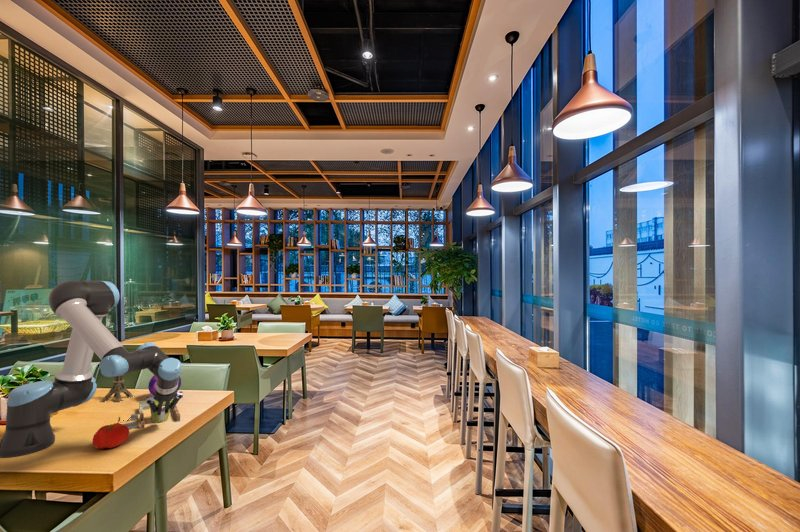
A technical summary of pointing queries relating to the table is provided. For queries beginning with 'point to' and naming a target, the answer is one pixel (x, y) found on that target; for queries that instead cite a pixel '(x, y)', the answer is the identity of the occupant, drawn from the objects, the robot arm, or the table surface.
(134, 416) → the grey and wooden pieces
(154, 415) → the plant pot
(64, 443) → the table surface
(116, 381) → the eiffel tower
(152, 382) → the decorative orb
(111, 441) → the tomato
